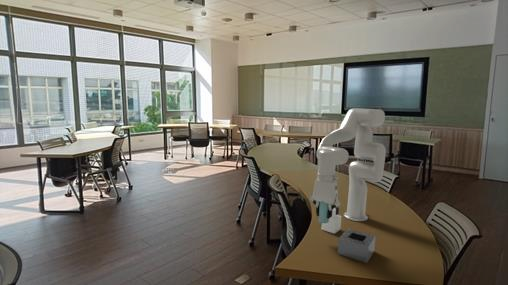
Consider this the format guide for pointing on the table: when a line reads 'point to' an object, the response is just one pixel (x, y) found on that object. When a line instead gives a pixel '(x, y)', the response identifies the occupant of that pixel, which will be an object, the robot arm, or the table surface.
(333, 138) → the robot arm
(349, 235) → the socket
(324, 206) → the plug
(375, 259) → the table surface
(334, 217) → the medicine bottle
